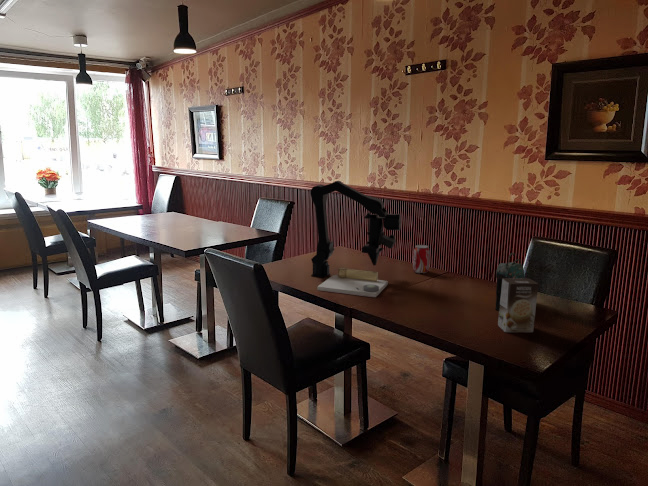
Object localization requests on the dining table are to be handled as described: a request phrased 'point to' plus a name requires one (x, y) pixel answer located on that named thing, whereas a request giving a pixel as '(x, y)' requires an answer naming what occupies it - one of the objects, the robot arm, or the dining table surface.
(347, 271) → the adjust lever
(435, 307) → the dining table surface
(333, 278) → the base
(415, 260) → the soda can
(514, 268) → the ceramic cat
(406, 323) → the dining table surface
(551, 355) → the dining table surface
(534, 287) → the coffee box
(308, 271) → the dining table surface
